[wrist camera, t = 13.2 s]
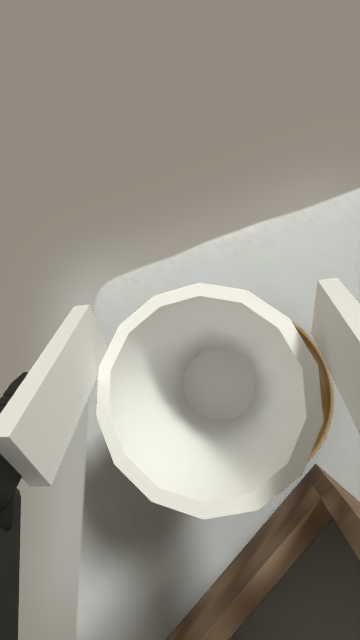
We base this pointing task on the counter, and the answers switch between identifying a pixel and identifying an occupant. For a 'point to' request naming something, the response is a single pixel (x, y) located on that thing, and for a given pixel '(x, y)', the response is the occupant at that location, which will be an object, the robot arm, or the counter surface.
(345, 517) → the cold frame
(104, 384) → the foam cup
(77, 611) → the counter surface
